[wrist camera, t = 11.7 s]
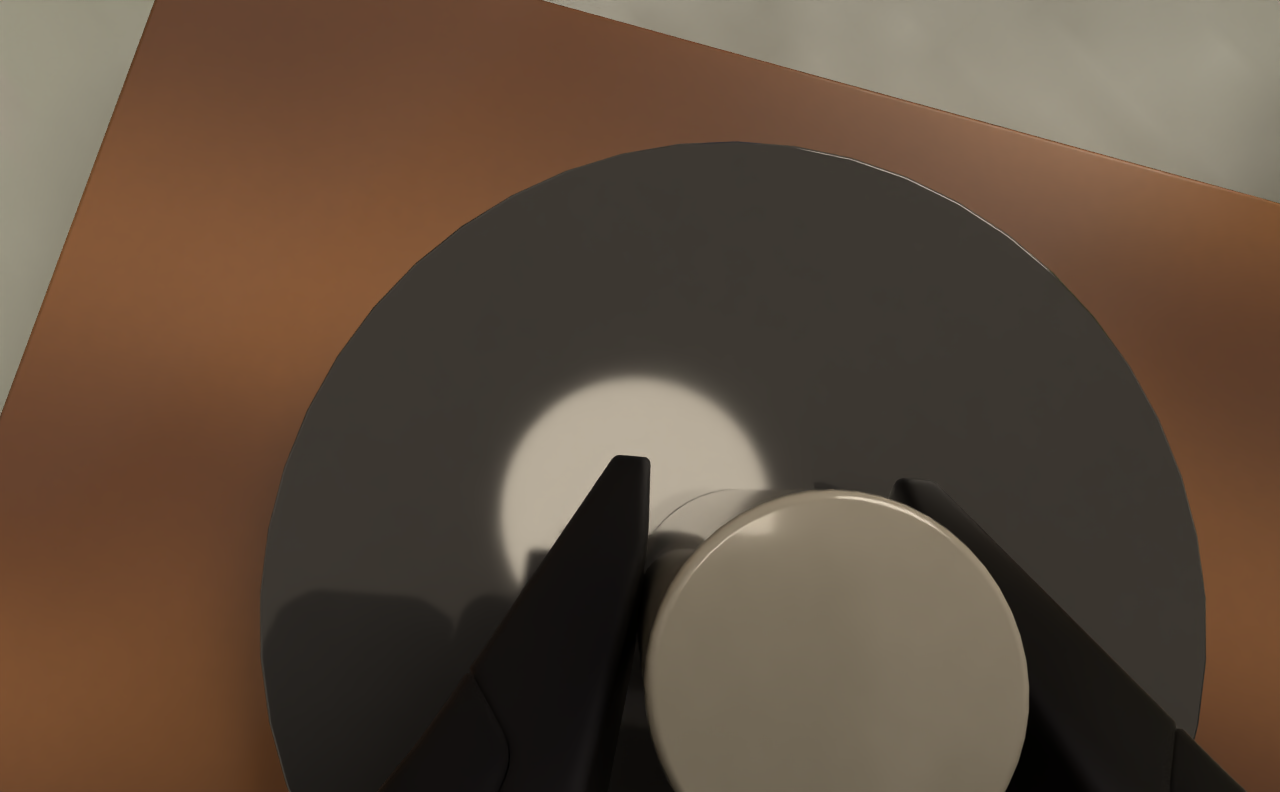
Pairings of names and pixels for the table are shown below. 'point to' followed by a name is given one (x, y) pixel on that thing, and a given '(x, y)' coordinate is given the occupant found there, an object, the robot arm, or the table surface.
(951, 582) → the lid
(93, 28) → the table surface
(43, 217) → the table surface
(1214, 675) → the board
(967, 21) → the table surface
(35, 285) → the table surface
